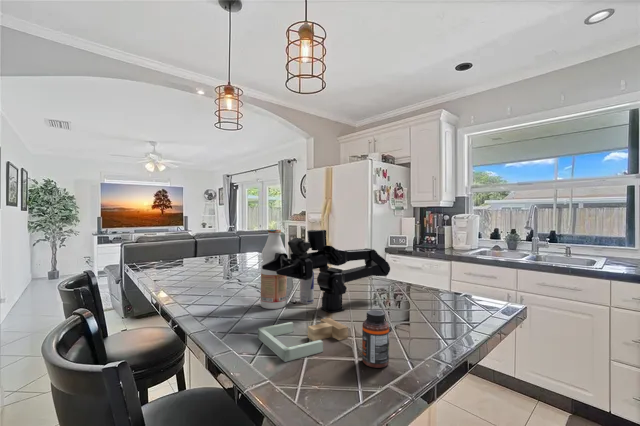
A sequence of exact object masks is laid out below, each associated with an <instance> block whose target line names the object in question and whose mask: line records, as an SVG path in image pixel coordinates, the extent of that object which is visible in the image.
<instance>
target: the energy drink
mask: <svg viewBox="0 0 640 426" xmlns="http://www.w3.org/2000/svg"><path fill="white" fill-rule="evenodd" d="M314 292H315V272H314V271H313V276H312V278H311V279H309V280H303V279H302V280H301V279H299V302H300V304H302V303H303V304H304V305H311V304H313V303H314V300H315V299H314V298H315V294H314ZM310 303H311V304H310Z"/></svg>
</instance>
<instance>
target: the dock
mask: <svg viewBox="0 0 640 426" xmlns="http://www.w3.org/2000/svg"><path fill="white" fill-rule="evenodd" d="M290 333H294V322H293V321H290V322H289V321H287V322H284V323H279V324H274V325H269V326H268V325H267V326H263V327H262V326H261V327H258V328H257V339H258V340H259V341H260V342H261V343H263V344H264V345H265V346H266V347H267V348H269V349H270V351H272V352H273V353H274V354H275V355H277V357H278V358H279V359H281V360H282V361H283V362H284V363H285V362H290V361H291V362H292V361H294V360H298V359H301V358H305V357H310V356H313V355H316V354H320V353H323V352H324V341H323V340H322V339H321V340H317V341H309V342H306V343H301V344H298V345H292V346H290V347H287V346H286V345H285V344H283V342H281V341H280V340H279V339H277V338H276V336H281V335H286V334H290Z"/></svg>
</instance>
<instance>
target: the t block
mask: <svg viewBox="0 0 640 426" xmlns="http://www.w3.org/2000/svg"><path fill="white" fill-rule="evenodd" d="M307 338H308V339H309V340H311V342H313V341H317V340H321V341H322V340H326V339H328V338H333V339H335V340H337V341H343V340H347V339H349V327H348V326H346V325H345V324H343V323H340V322H339V321H337V320H334V319H332V318H330V317H328V318H321V319H320V323H318V324H313V325H309V326H307Z"/></svg>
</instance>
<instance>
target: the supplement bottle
mask: <svg viewBox="0 0 640 426" xmlns="http://www.w3.org/2000/svg"><path fill="white" fill-rule="evenodd" d="M385 315H386V313H385V312H384V311H382V310H380V309H379V310H377V309H369V310H368V311H366V319H364V321H362V326H361V327H362V329H361V331H362V339H361V341H362V343H361V359H362V363H364V365H366V366H367V367H370V368H372V369H373V368H375V369H381V368H385V367H387V366H388V365H389V363H390V362H389V361H390V326H389V323H388V322H387V321H386V320H385V319H386V316H385Z"/></svg>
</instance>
